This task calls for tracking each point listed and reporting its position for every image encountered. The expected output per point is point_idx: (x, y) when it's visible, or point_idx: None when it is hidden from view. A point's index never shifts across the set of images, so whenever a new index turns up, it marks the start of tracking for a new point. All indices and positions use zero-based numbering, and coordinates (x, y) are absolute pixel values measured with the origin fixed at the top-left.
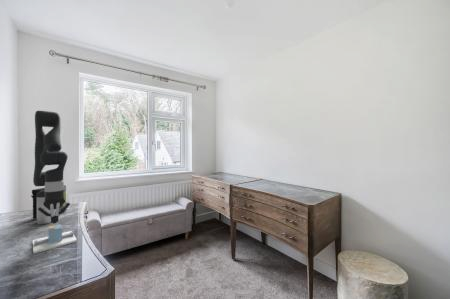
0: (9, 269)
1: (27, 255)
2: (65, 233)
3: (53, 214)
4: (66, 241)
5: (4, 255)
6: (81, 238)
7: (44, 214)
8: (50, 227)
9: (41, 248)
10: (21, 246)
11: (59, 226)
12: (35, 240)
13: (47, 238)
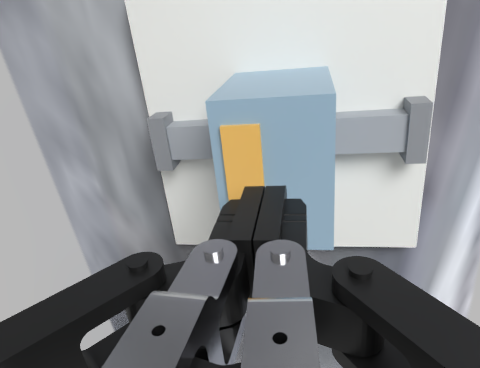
0: (124, 323)
1: (156, 235)
2: (378, 9)
3: (232, 338)
4: (350, 228)
5: (38, 143)
6: (458, 201)
7: (102, 355)
8: (233, 169)
9: (211, 230)
10: (79, 42)
11: (317, 190)
12: (147, 22)
13: (230, 44)
